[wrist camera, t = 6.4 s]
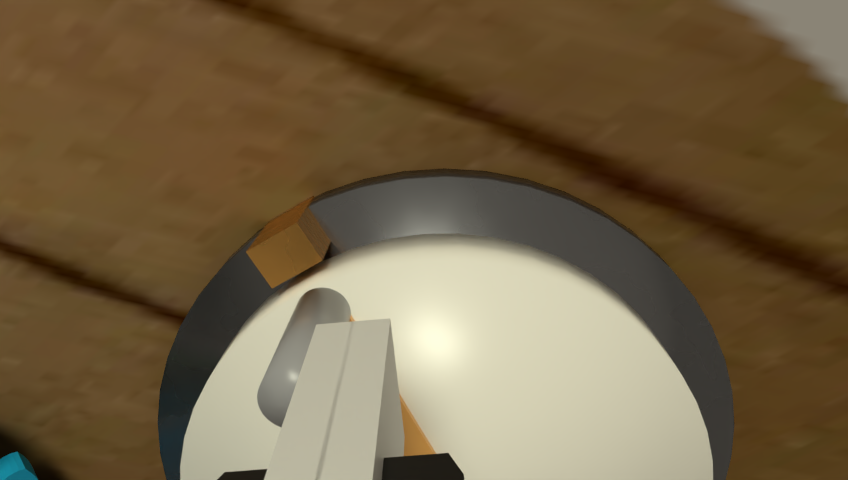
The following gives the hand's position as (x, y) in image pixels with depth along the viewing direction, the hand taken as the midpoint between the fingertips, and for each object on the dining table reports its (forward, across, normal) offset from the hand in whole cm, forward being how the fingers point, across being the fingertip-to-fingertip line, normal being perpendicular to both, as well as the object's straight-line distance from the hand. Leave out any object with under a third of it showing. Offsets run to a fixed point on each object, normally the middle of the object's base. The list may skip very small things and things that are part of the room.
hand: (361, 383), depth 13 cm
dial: (+6, +1, -7) cm, 9 cm away
